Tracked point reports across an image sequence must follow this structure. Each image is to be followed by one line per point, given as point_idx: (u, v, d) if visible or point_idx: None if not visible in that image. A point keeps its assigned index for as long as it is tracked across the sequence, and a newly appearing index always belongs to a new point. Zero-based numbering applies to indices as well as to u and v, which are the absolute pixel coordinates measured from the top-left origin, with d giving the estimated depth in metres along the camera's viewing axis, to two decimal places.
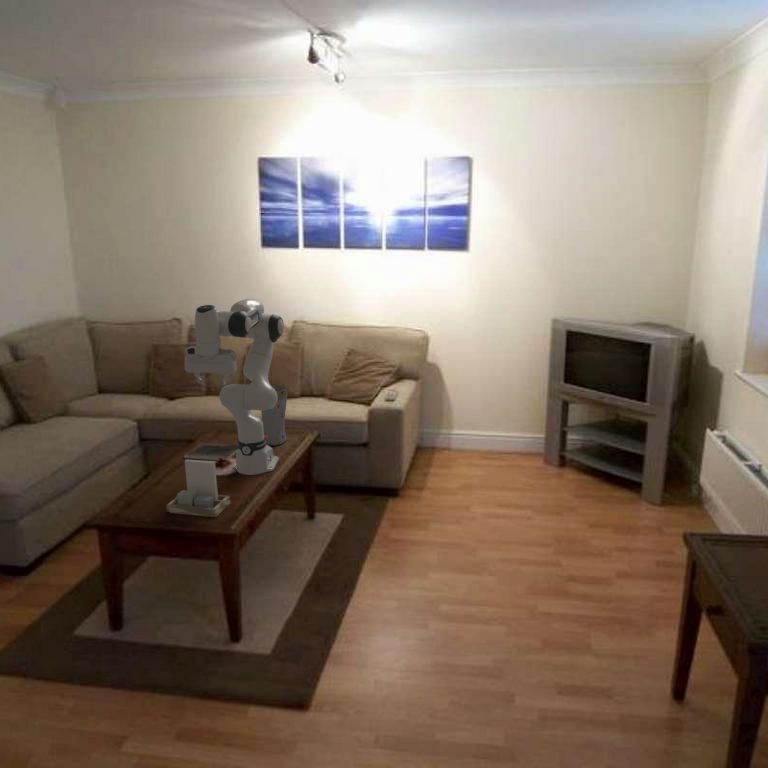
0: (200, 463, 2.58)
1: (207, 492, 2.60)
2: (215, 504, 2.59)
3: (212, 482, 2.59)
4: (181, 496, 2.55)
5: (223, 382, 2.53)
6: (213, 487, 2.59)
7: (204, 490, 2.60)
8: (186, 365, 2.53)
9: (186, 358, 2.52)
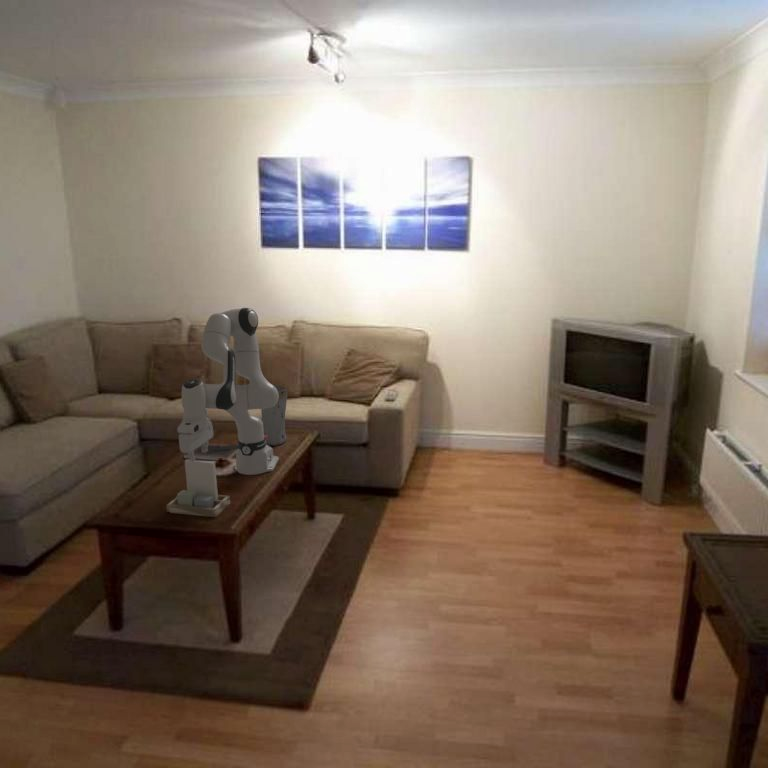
0: (200, 463, 2.58)
1: (207, 492, 2.60)
2: (215, 504, 2.59)
3: (212, 482, 2.59)
4: (181, 496, 2.55)
5: (206, 449, 2.62)
6: (213, 487, 2.59)
7: (204, 490, 2.60)
8: (190, 446, 2.47)
9: (191, 438, 2.47)
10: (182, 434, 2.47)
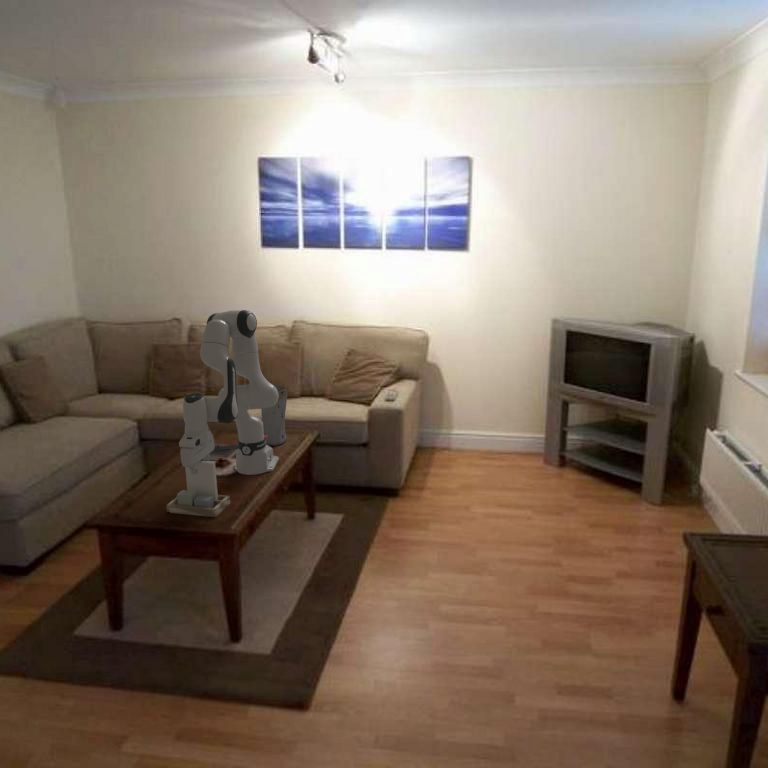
0: (200, 463, 2.58)
1: (207, 492, 2.60)
2: (215, 504, 2.59)
3: (212, 482, 2.59)
4: (181, 496, 2.55)
5: None
6: (213, 487, 2.59)
7: (204, 490, 2.60)
8: (191, 460, 2.48)
9: (192, 452, 2.48)
10: (184, 448, 2.49)
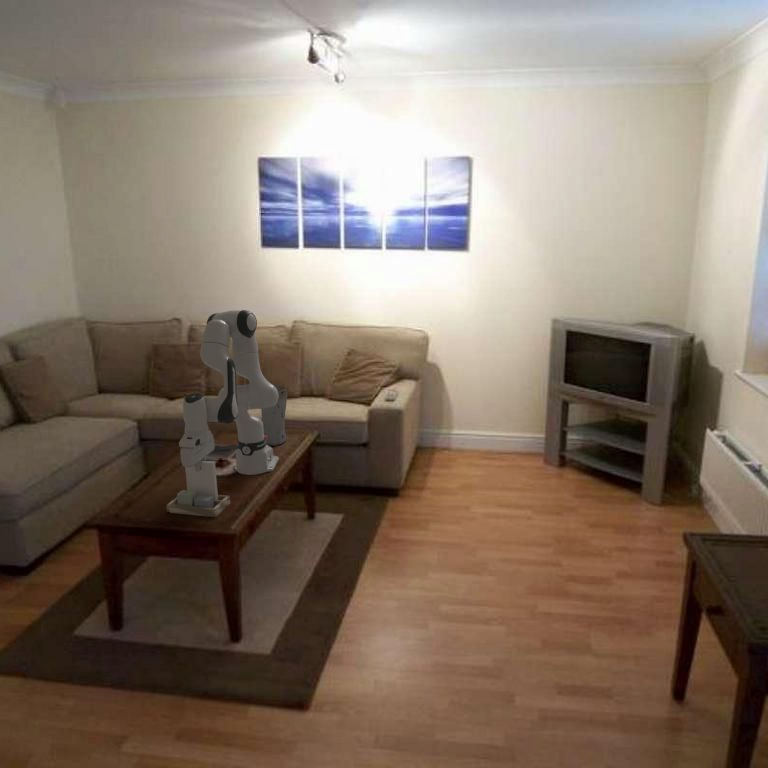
0: (200, 463, 2.58)
1: (207, 492, 2.60)
2: (215, 504, 2.59)
3: (212, 482, 2.59)
4: (181, 496, 2.55)
5: None
6: (213, 487, 2.59)
7: (204, 490, 2.60)
8: (191, 460, 2.48)
9: (192, 452, 2.48)
10: (184, 448, 2.49)
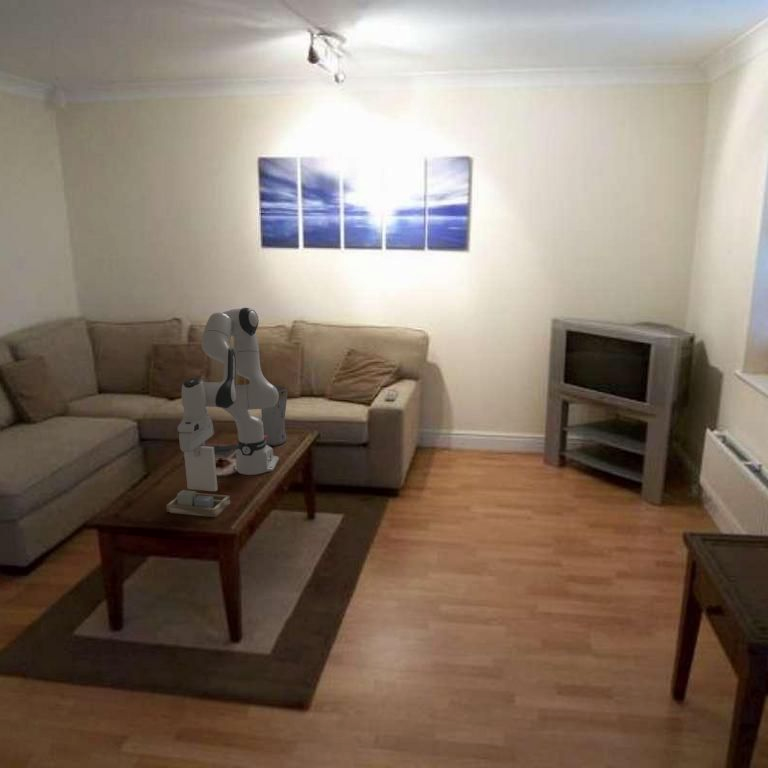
0: (199, 448, 2.56)
1: (206, 478, 2.59)
2: (215, 504, 2.59)
3: (211, 467, 2.57)
4: (181, 496, 2.55)
5: None
6: (212, 472, 2.58)
7: (203, 475, 2.59)
8: (190, 445, 2.47)
9: (191, 437, 2.47)
10: (182, 433, 2.47)
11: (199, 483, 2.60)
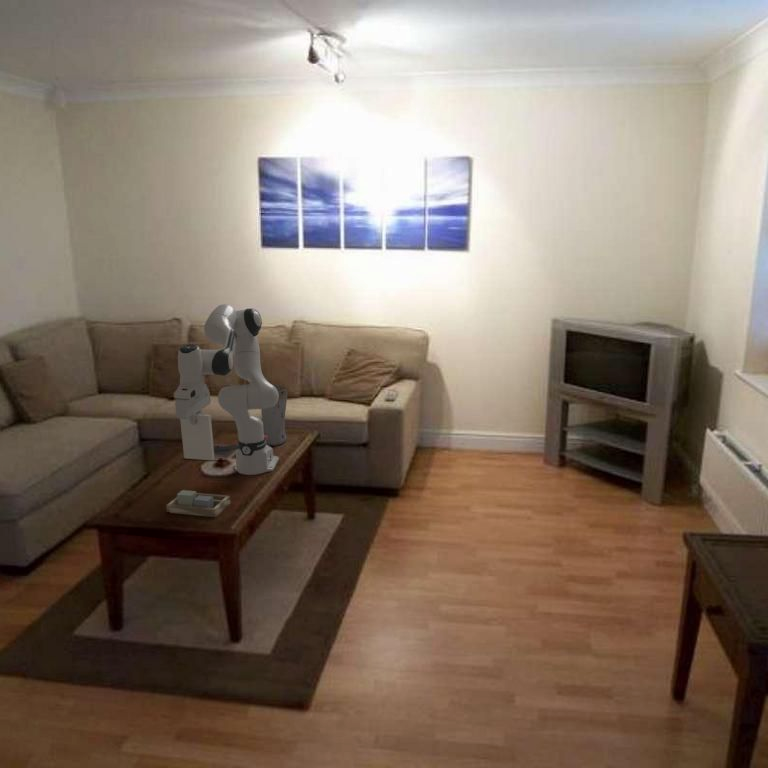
0: (195, 416, 2.53)
1: (202, 446, 2.55)
2: (215, 504, 2.59)
3: (208, 436, 2.54)
4: (181, 496, 2.55)
5: None
6: (209, 441, 2.54)
7: (200, 444, 2.56)
8: (187, 411, 2.43)
9: (187, 404, 2.43)
10: (179, 400, 2.43)
11: (196, 452, 2.57)
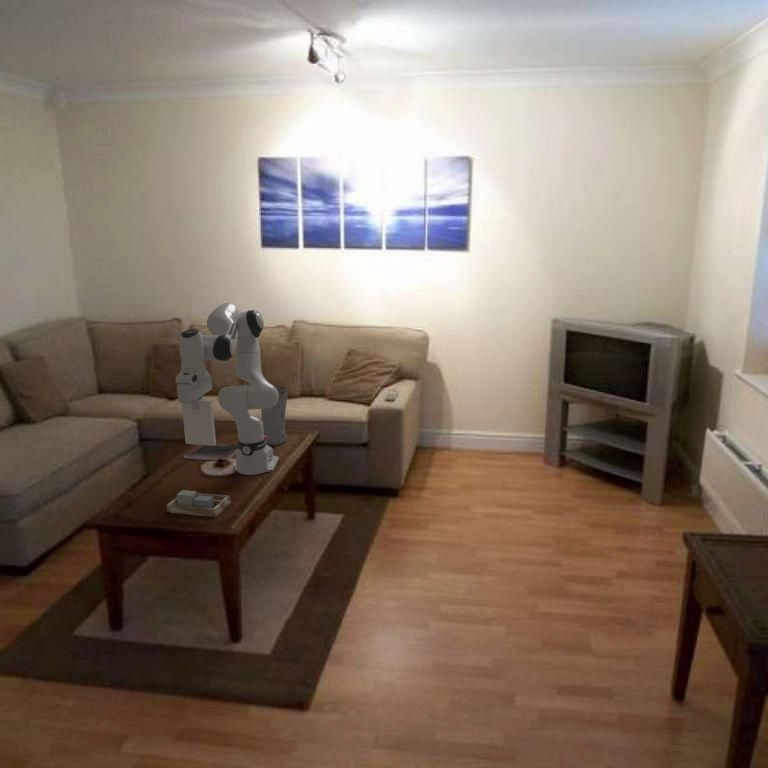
0: (197, 401, 2.53)
1: (204, 431, 2.56)
2: (215, 504, 2.59)
3: (209, 421, 2.54)
4: (181, 496, 2.55)
5: None
6: (210, 426, 2.55)
7: (201, 429, 2.56)
8: (188, 396, 2.44)
9: (189, 388, 2.44)
10: (180, 384, 2.44)
11: (197, 437, 2.57)
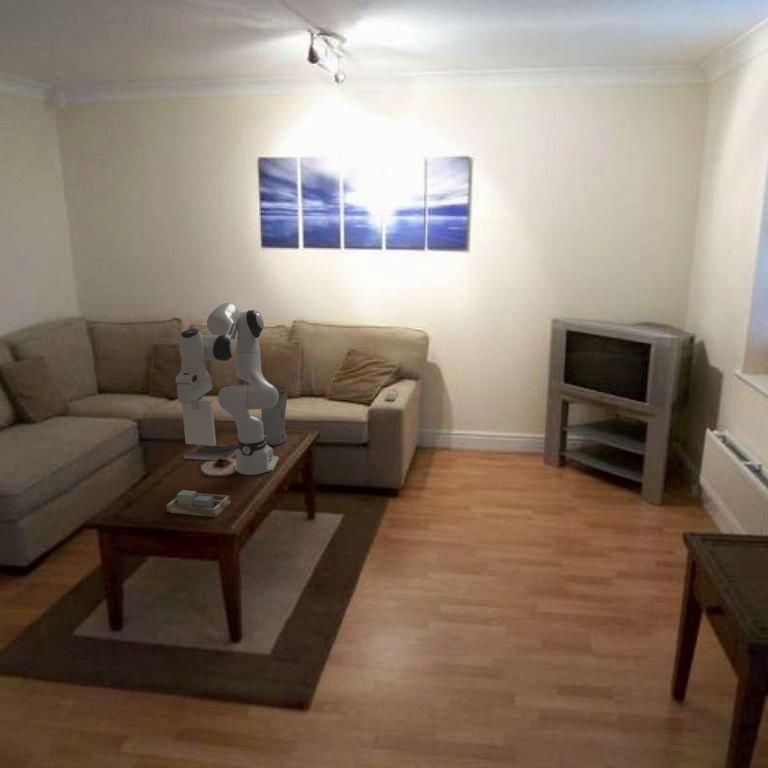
0: (197, 401, 2.53)
1: (204, 431, 2.56)
2: (215, 504, 2.59)
3: (209, 421, 2.54)
4: (181, 496, 2.55)
5: None
6: (210, 426, 2.55)
7: (201, 429, 2.56)
8: (188, 396, 2.44)
9: (189, 388, 2.44)
10: (180, 384, 2.44)
11: (197, 437, 2.57)
